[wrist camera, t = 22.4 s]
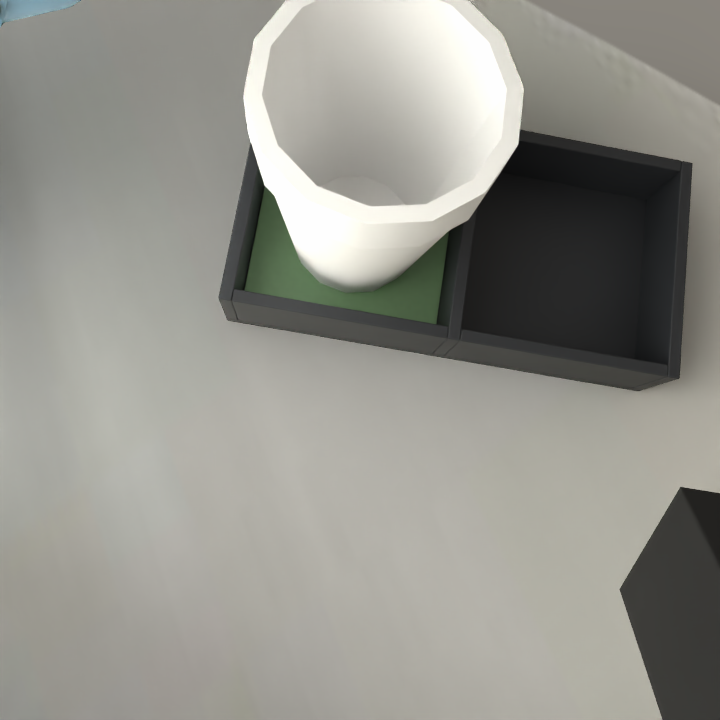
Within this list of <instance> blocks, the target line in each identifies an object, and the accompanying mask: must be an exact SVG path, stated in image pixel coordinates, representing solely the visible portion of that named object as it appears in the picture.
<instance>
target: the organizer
mask: <svg viewBox="0 0 720 720" xmlns="http://www.w3.org/2000/svg"><path fill="white" fill-rule="evenodd" d="M691 180H692V163H689V162H684V161H682V162H681V161H679V160H674V159H669V158H664V157H658V156H653V155H648V154H643V153H638V152H633V151H628V150H622V149H617V148H612V147H607V146H602V145H597V144H591V143H586V142H581V141H576V140H571V139H566V138H560V137H555V136H550V135H545V134H540V133H535V132H529V131H524V130H520V133H519V143H518V146H517V147H516V149H515V151H514V152H513V154H512V155H511V157H510V158H509V160H508V162H507V163H506V165H505V166H504V168H503V169H502V171H501V173H500V174H499V176H498V177H497V179H496V180H495V182H494V183H493V185H492V186H491V187H490V189H489V190H488V192H487V193H486V195H485V196H484V198H483V199H482V201H481V202H480V204H479V205H478V207H477V208H476V210H475V211H474V213H473V214H472V215H471V217H470V218H469V220H467V221H466V222H464V223H462V224H460V225H458V226H456V227H455V228H453V229H451V230H449V231H448V232H447V233H446V234H445V235H444V236H443V237H441V238H440V239H439V240H438V241H437V242H436V243H435V244H434V245H433V246H432V247H431V248H430V249H428V250H427V251H426V252H425V253H424V254H423V255H422V256H421V257H420V258H419V259H418V260H417V261H415V262H414V263H413V264H412V265H411V266H410V267H409V268H408V269H407V270H406V271H405V272H404V273H402V274H401V275H400V276H399V277H397V279H395V280H393V281H391V282H389V283H388V284H386V285H384V286H382V287H380V288H378V289H377V290H375V291H372V292H354V293H344V292H342V291H339V290H337V289H334V288H332V287H329V286H327V285H324V284H322V283H320V282H319V281H318V280H317V279H316V278H315V277H314V276H313V275H312V274H311V273H310V272H309V271H308V270H307V269H306V268H305V267H304V266H303V265H302V263H301V261H300V260H299V257H298V255H297V252H296V250H295V247H294V244H293V242H292V239H291V237H290V234H289V232H288V229H287V227H286V224H285V221H284V219H283V216H282V214H281V211H280V209H279V206H278V203H277V201H276V198H275V196H274V195H273V194H272V193H271V191H270V190H269V189H268V188H267V187H266V186H265V185H264V182H263V179H262V175H261V172H260V169H259V166H258V163H257V159H256V156H255V153H254V150H253V147H252V143H250V148H249V153H248V157H247V162H246V167H245V172H244V177H243V182H242V187H241V192H240V196H239V201H238V206H237V211H236V216H235V221H234V226H233V230H232V235H231V240H230V245H229V250H228V255H227V260H226V264H225V269H224V274H223V279H222V284H221V289H220V294H219V300H220V303H221V305H222V308H223V310H224V313H225V315H226V318H227V320H229V321H234V322H240V323H246V324H252V325H258V326H263V327H269V328H275V329H281V330H287V331H292V332H298V333H304V334H310V335H316V336H321V337H327V338H333V339H339V340H345V341H350V342H356V343H362V344H368V345H374V346H379V347H385V348H391V349H397V350H403V351H408V352H414V353H420V354H426V355H432V356H437V357H443V358H449V359H455V360H461V361H466V362H472V363H478V364H484V365H490V366H495V367H501V368H507V369H513V370H519V371H524V372H530V373H536V374H542V375H548V376H553V377H559V378H565V379H571V380H576V381H582V382H588V383H594V384H600V385H605V386H611V387H617V388H623V389H629V390H634V391H640V390H643V389H647V388H650V387H653V386H657V385H660V384H663V383H667V382H670V381H673V380H677V379H679V378H680V361H681V345H682V328H683V312H684V295H685V279H686V262H687V246H688V229H689V213H690V196H691Z"/></svg>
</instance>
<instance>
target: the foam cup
mask: <svg viewBox="0 0 720 720" xmlns="http://www.w3.org/2000/svg"><path fill="white" fill-rule="evenodd" d="M523 94H524V87H523V84H522V82H521V79H520V77H519V74H518V72H517V69H516V66H515V64H514V61H513V59H512V56H511V53H510V51H509V48H508V46H507V43H506V41H505V38H504V35H503V34H502V33H501V32H500V31H499V30H498V29H497V28H496V27H495V26H494V25H493V24H492V23H491V22H490V21H489V20H488V19H487V18H486V17H485V16H484V15H483V14H482V13H481V12H480V11H479V10H478V9H477V8H476V7H474V6H473V5H472V4H471V3H470V2H469V1H468V0H286V1H285V2H284V3H283V4H282V6H281V7H280V8H279V9H278V11H277V12H276V13H275V14H274V15H273V17H272V18H271V19H270V20H269V21H268V23H267V24H266V25H265V26H264V28H263V29H262V30H261V31H260V32H259V34H258V35H257V36H256V37H255V38H254V42H253V47H252V52H251V57H250V63H249V68H248V73H247V78H246V83H245V88H244V94H243V98H244V106H245V113H246V121H247V128H248V134H249V137H250V140H251V143H252V147H253V150H254V153H255V156H256V159H257V163H258V166H259V169H260V172H261V175H262V179H263V182H264V185H265V186H266V187H267V188H268V189H269V190H270V191H271V193H272V194H273V195H274V196H275V198H276V201H277V203H278V206H279V209H280V211H281V214H282V216H283V219H284V221H285V224H286V227H287V229H288V232H289V234H290V237H291V239H292V242H293V244H294V247H295V250H296V252H297V255H298V257H299V260H300V261H301V263H302V265H303V266H304V267H305V268H306V269H307V270H308V271H309V272H310V273H311V274H312V275H313V276H314V277H315V278H316V279H317V280H318V281H319V282H320V283H322V284H324V285H327V286H329V287H332V288H334V289H337V290H339V291H342V292H344V293H354V292H372V291H375V290H377V289H378V288H380V287H382V286H384V285H386V284H388V283H389V282H391V281H393V280H395V279H397V277H399V276H400V275H401V274H402V273H404V272H405V271H406V270H407V269H408V268H409V267H410V266H411V265H412V264H413V263H414V262H415V261H417V260H418V259H419V258H420V257H421V256H422V255H423V254H424V253H425V252H426V251H427V250H428V249H430V248H431V247H432V246H433V245H434V244H435V243H436V242H437V241H438V240H439V239H440V238H441V237H443V236H444V235H445V234H446V233H447V232H448V231H449V230H451V229H453V228H455V227H456V226H458V225H460V224H462V223H464V222H466V221H467V220H469V218H470V217H471V215H472V214H473V213H474V211H475V210H476V208H477V207H478V205H479V204H480V202H481V201H482V199H483V198H484V196H485V195H486V193H487V192H488V190H489V189H490V187H491V186H492V185H493V183H494V182H495V180H496V179H497V177H498V176H499V174H500V173H501V171H502V169H503V168H504V166H505V165H506V163H507V162H508V160H509V158H510V157H511V155H512V154H513V152H514V151H515V149H516V147H517V146H518V143H519V133H520V123H521V113H522V104H523Z"/></svg>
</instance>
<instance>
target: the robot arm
mask: <svg viewBox="0 0 720 720" xmlns="http://www.w3.org/2000/svg"><path fill="white" fill-rule="evenodd" d="M80 1H81V0H0V27H1V26H2V24H3V23H5V22H9V21H13V20H18V19H22V18H26V17H31V16H35V15H40V14H44V13H48V12H53V11H57V10H61V9H66V8H69V7H71V6H73V5H75V4H76V3H78V2H80ZM620 592H621V595H622V598H623V601H624V604H625V607H626V610H627V613H628V616H629V619H630V622H631V625H632V628H633V631H634V634H635V637H636V640H637V643H638V646H639V649H640V652H641V655H642V658H643V661H644V665H645V668H646V671H647V674H648V677H649V680H650V683H651V686H652V689H653V692H654V695H655V698H656V701H657V704H658V707H659V710H660V713H661V716H662V719H663V720H720V493H714V492H708V491H702V490H696V489H690V488H683V487H680V489H679V490H678V492H677V494H676V495H675V497H674V499H673V501H672V502H671V504H670V506H669V507H668V509H667V511H666V512H665V514H664V516H663V517H662V519H661V521H660V522H659V524H658V526H657V527H656V529H655V531H654V532H653V534H652V536H651V537H650V539H649V541H648V542H647V544H646V546H645V547H644V549H643V551H642V553H641V554H640V556H639V558H638V559H637V561H636V563H635V564H634V566H633V568H632V569H631V571H630V573H629V574H628V576H627V578H626V579H625V581H624V583H623V584H622V586H621V588H620Z"/></svg>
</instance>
